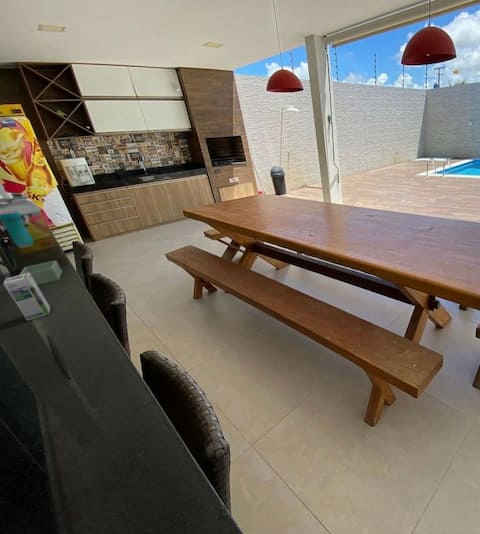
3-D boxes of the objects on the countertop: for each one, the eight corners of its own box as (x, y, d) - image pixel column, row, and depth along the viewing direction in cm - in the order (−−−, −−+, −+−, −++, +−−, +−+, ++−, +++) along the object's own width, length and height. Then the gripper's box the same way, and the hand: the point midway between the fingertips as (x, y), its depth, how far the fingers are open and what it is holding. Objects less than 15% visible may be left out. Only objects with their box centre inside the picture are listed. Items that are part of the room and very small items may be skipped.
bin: (26, 288, 125) (18, 275, 122) (31, 279, 133) (24, 267, 130) (58, 280, 130) (52, 268, 127) (62, 272, 138) (56, 260, 135)
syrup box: (26, 321, 102) (2, 283, 95) (29, 314, 106) (5, 277, 100) (49, 314, 105) (27, 277, 99) (51, 307, 109) (29, 271, 103)
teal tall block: (37, 244, 135) (19, 211, 128) (19, 249, 130) (0, 214, 124) (32, 242, 137) (15, 209, 131) (15, 247, 133) (-4, 213, 126)
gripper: (-41, 203, 121) (-22, 230, 120) (29, 192, 136) (46, 216, 135) (-36, 213, 125) (-18, 239, 124) (31, 201, 140) (48, 225, 139)
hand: (16, 227), depth 130 cm, fingers closed on teal tall block, 5 cm apart
